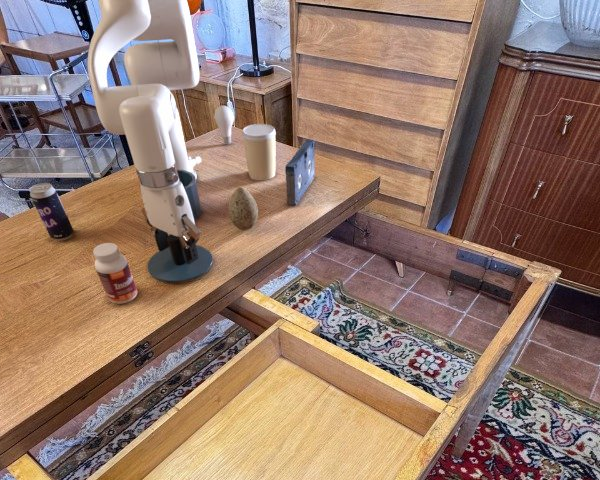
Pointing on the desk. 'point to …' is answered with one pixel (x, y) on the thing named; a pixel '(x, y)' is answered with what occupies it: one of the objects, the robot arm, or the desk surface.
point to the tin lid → (178, 263)
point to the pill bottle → (114, 273)
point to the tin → (191, 191)
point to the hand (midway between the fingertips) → (178, 254)
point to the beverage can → (51, 211)
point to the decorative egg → (243, 209)
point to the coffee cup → (260, 150)
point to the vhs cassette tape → (300, 172)
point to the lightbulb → (224, 122)
